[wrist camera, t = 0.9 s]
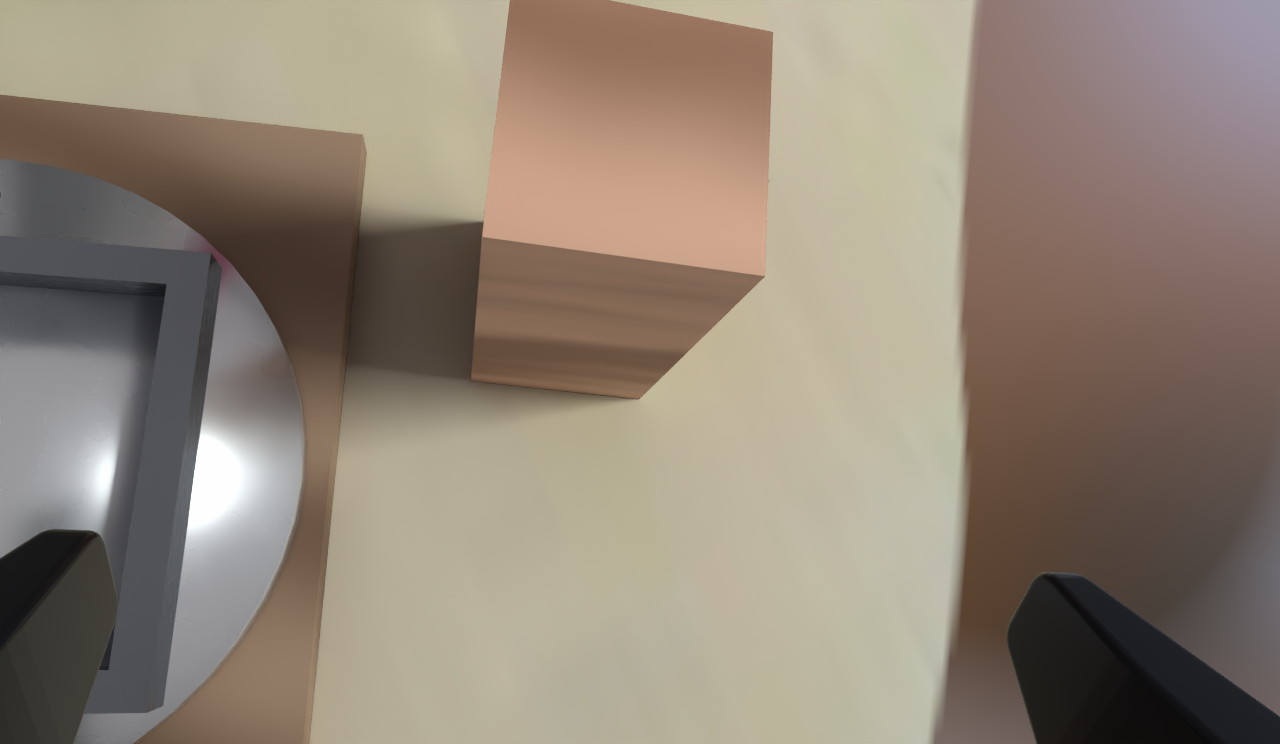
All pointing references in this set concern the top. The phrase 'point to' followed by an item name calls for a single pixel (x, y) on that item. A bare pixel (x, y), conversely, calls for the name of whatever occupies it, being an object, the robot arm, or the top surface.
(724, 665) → the top surface
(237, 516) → the rosette plate
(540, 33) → the tan wooden block
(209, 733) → the walnut board
